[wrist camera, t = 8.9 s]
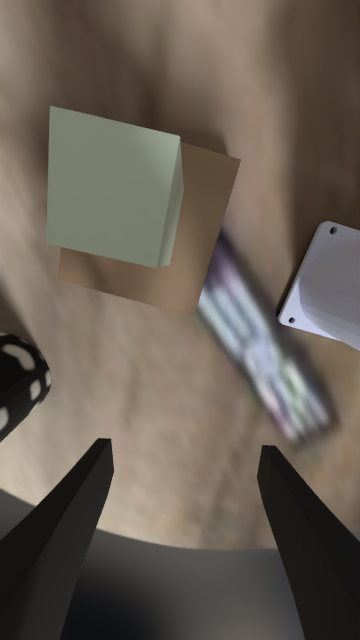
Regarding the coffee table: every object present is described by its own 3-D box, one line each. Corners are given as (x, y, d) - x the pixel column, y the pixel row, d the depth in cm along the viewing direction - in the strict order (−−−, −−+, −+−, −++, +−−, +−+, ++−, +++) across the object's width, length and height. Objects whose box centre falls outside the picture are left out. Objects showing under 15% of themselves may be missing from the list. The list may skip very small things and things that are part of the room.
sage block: (183, 191, 13) (180, 136, 7) (169, 264, 14) (156, 268, 8) (112, 174, 13) (49, 105, 7) (104, 250, 14) (46, 243, 8)
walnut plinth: (230, 178, 15) (240, 159, 12) (192, 307, 18) (193, 316, 15) (96, 138, 15) (74, 109, 12) (79, 276, 18) (58, 279, 15)
